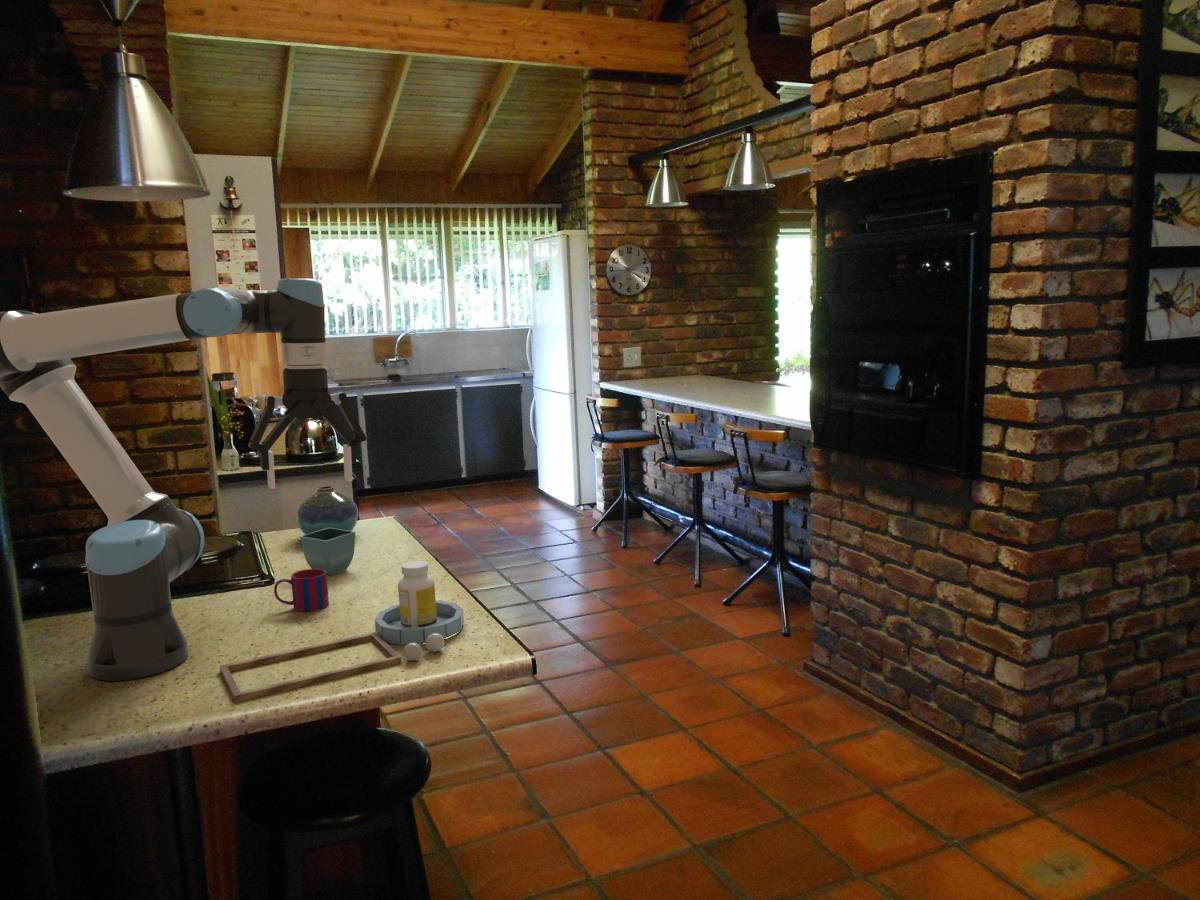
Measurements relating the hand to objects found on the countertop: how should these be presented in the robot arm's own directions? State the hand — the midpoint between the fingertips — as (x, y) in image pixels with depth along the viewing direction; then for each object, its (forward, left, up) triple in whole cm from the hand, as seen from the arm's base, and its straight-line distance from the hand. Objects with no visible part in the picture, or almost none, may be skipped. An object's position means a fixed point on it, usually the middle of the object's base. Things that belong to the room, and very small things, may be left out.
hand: (310, 484), depth 161 cm
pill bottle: (+14, -13, -26) cm, 33 cm away
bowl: (+14, -13, -27) cm, 33 cm away
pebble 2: (+13, -24, -27) cm, 38 cm away
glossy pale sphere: (+8, -26, -27) cm, 38 cm away
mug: (-1, +13, -27) cm, 30 cm away
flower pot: (+10, +34, -27) cm, 45 cm away
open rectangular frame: (-7, -19, -27) cm, 33 cm away
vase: (+18, +66, -27) cm, 74 cm away
